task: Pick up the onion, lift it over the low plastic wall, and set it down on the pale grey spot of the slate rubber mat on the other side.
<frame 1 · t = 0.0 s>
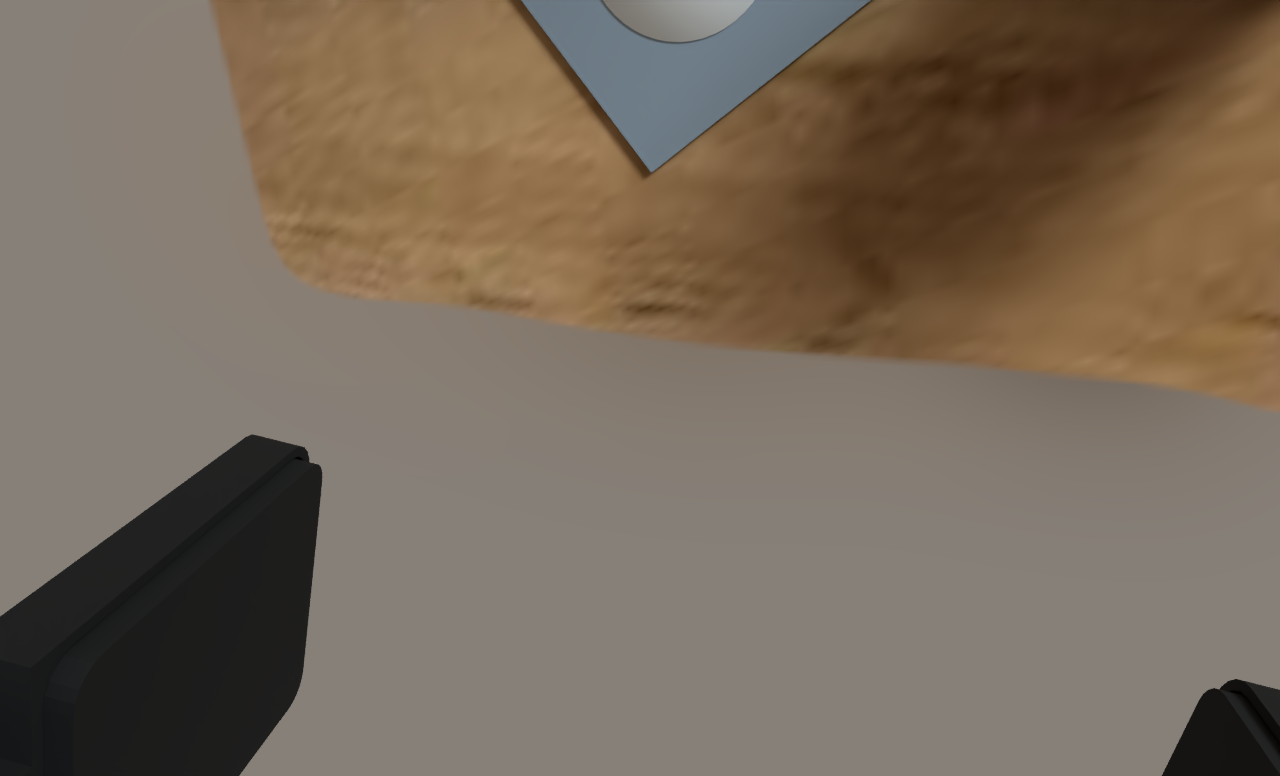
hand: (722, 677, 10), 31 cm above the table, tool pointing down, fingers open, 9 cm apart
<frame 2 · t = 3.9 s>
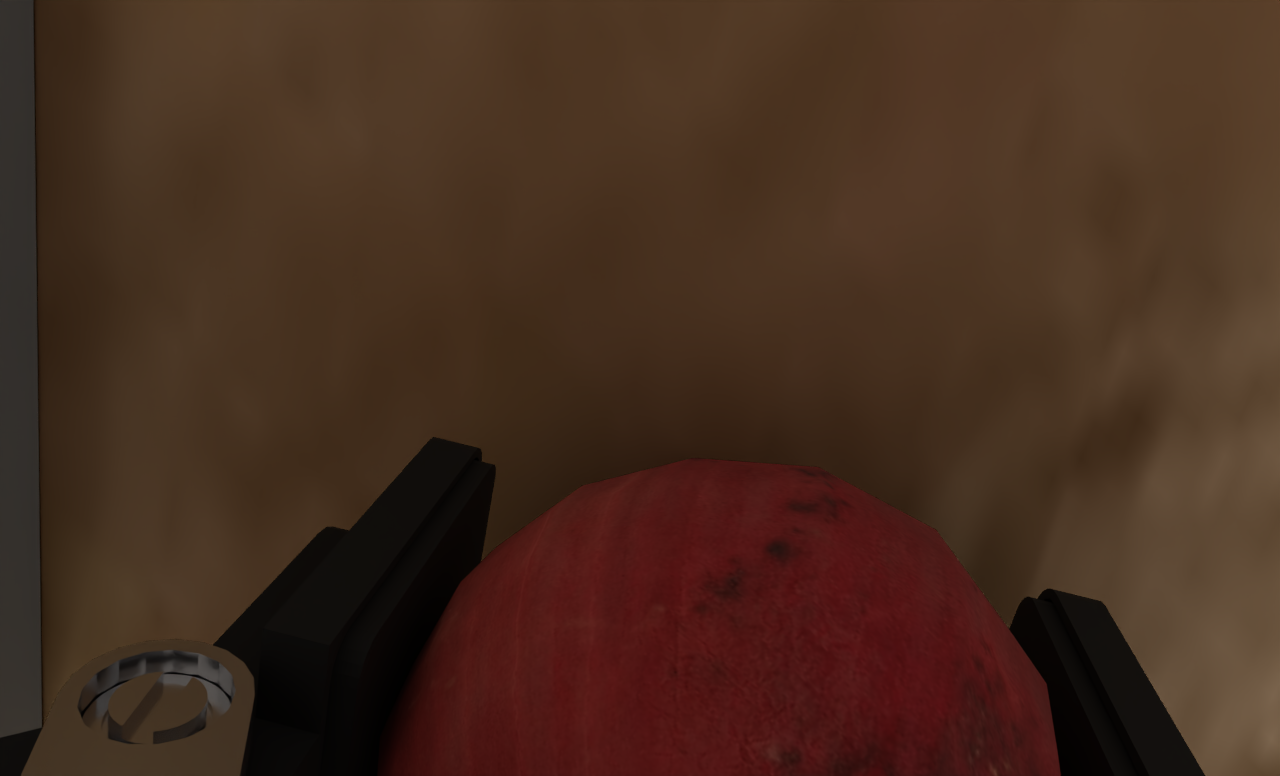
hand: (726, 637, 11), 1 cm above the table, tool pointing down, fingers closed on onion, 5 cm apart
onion: (734, 568, 12), on the table, touching gripper
when the fingers open (4 cm above the table, at t = 9.8 s): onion drops 2 cm, resting on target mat.
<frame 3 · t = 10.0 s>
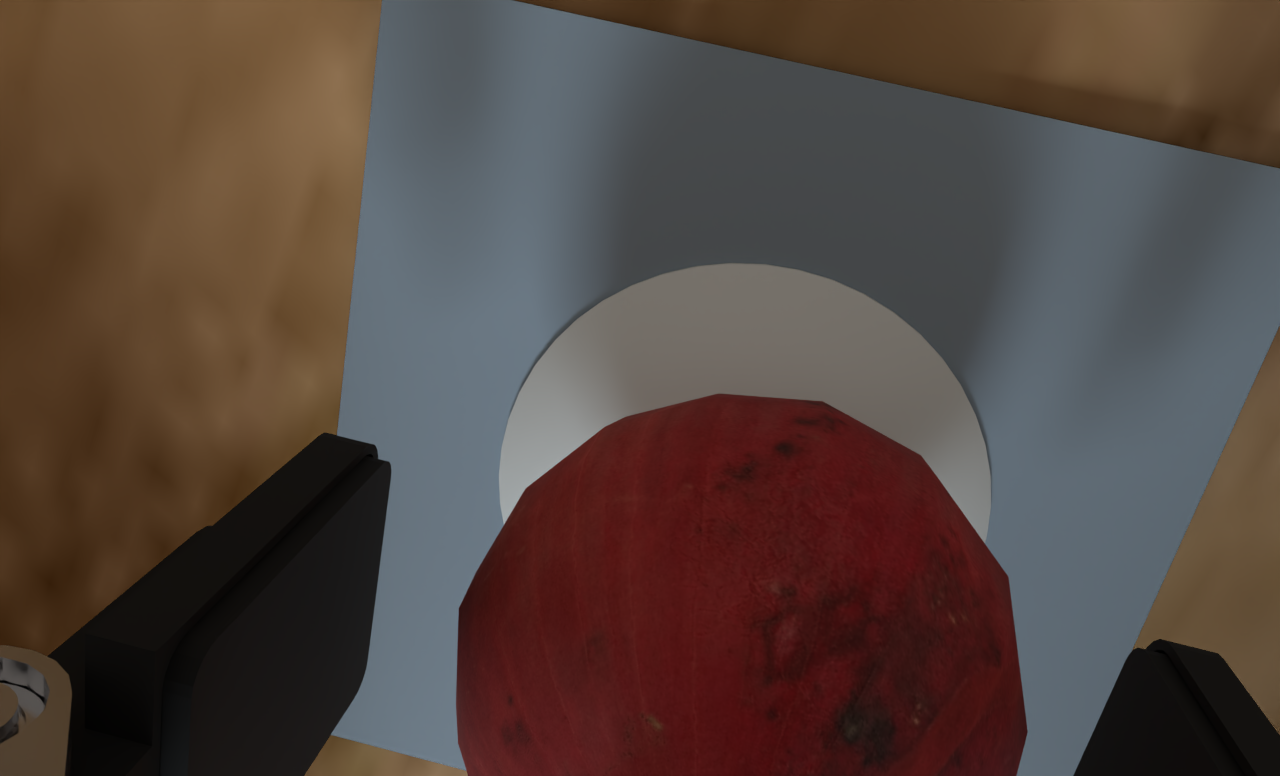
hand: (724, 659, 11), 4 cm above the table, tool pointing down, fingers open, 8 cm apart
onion: (755, 514, 14), resting on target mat
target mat: (738, 490, 14), on the table
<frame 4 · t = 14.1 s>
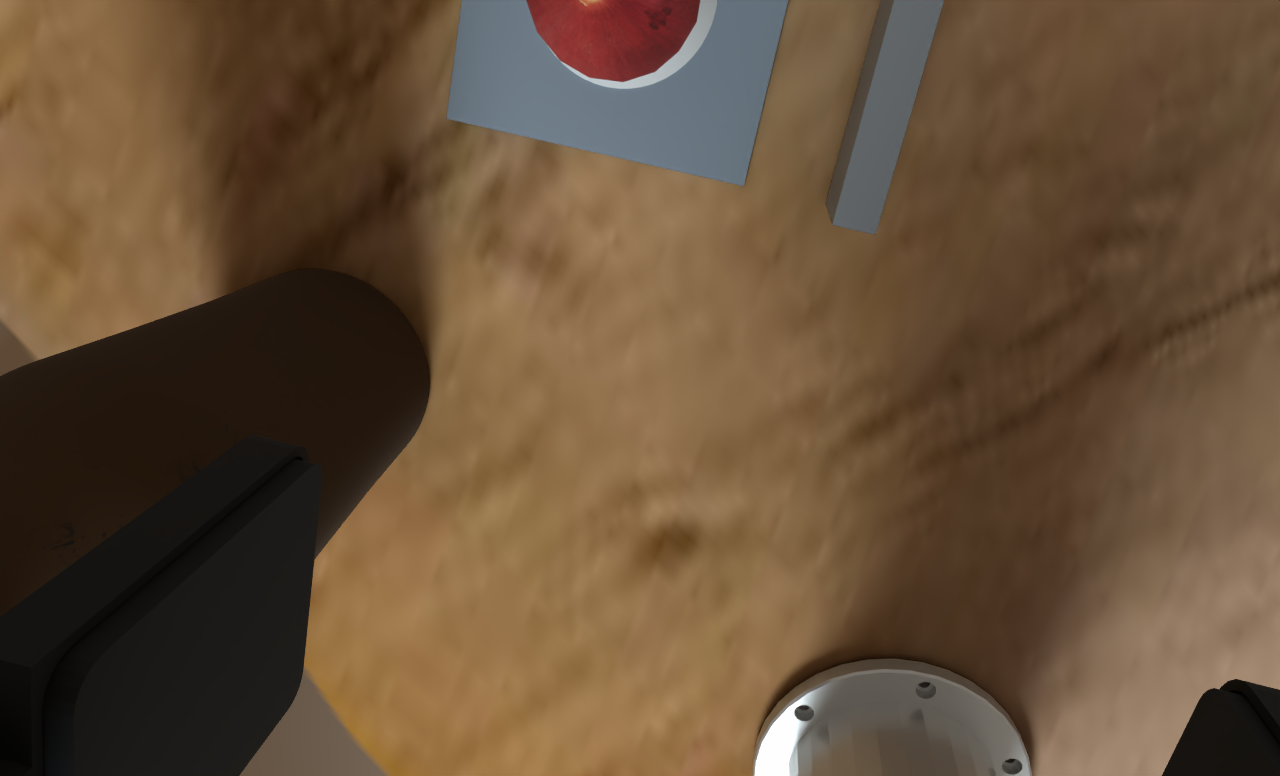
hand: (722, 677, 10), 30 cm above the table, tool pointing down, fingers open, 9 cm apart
olive oil: (328, 371, 44), on the table
low wall: (888, 47, 36), on the table
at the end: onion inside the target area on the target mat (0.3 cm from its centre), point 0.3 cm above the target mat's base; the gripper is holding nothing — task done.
